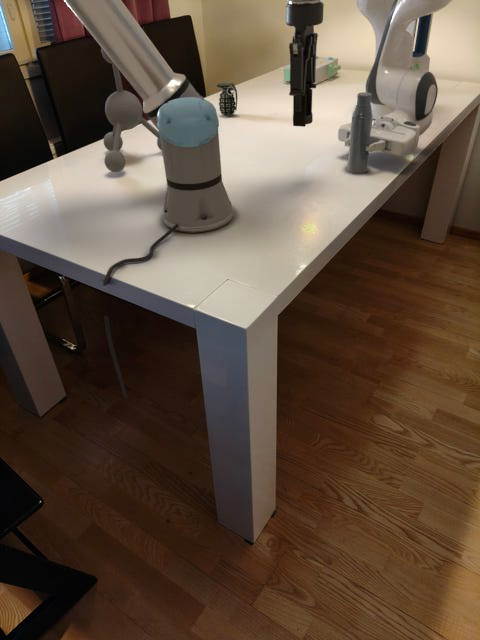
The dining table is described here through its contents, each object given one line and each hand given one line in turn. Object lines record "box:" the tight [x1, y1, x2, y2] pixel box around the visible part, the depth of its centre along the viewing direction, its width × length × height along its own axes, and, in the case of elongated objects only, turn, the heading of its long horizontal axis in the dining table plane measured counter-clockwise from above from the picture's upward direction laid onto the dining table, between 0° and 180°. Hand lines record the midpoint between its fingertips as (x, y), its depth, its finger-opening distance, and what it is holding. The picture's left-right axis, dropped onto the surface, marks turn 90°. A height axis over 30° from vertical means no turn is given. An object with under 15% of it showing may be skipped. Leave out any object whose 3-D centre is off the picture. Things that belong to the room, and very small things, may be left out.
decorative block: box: [283, 55, 342, 85], centre depth 206 cm, size 26×6×20 cm
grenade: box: [215, 82, 238, 117], centre depth 166 cm, size 7×6×10 cm
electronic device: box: [406, 13, 434, 72], centre depth 173 cm, size 12×8×30 cm, turn 105°
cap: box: [306, 111, 313, 125], centre depth 111 cm, size 4×4×2 cm
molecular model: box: [100, 46, 162, 173], centre depth 130 cm, size 24×22×30 cm
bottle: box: [347, 92, 374, 175], centre depth 119 cm, size 5×5×18 cm
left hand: (302, 122), depth 112 cm, fingers closed on cap, 4 cm apart
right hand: (357, 146), depth 120 cm, fingers closed on bottle, 5 cm apart
